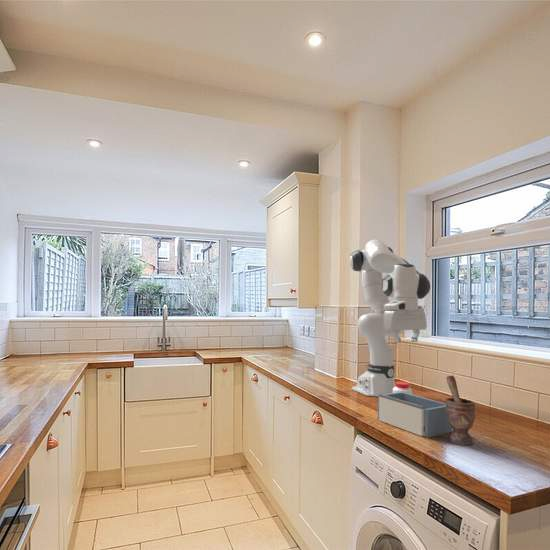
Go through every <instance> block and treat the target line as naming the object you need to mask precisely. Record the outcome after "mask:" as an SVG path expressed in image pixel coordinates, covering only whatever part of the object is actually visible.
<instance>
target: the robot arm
mask: <svg viewBox="0 0 550 550" xmlns="http://www.w3.org/2000/svg"><path fill="white" fill-rule="evenodd" d="M348 260H349V261H348V262H349V265H350V268H351V269H352V270H353V271H354V272H361V285H362V292H363V296H364V302H365V304H366V305H367V306H368V307H369V308H370V309H372V310H373V311H374V312H375V313H373V312H372V313H371V312H370V313H365V314H363V315H360V316H359V318H358V320H357V328H358V331H359V332H360V334H362V335H363V336H364V337H365V339H366V341H367V343H368V347H369V363H368V364H366V365H365V368H367V369H366V371H365V372H364V373H362V374H361V375H359V376H358V377H357V381H356V385H354V386H352V387H351V390H352V391H355V392H357V393H360V394H362V395H365V396H366V397H367V396H369V397H378V395H379V394H390V393H393V388H394V387H395V383H396V382H395V376H394V375H395V365H394V348H393V347H392V346H391V345H390V344H389V343H387V341H386V336H387V337H388V336H389V337H391V336H393V339H394V343H396V344H399V343H402V342H401V340H402V338H401V337H400V334H403V333H404V332H405V331H412V333H413V335H412V336H411V337H410V338H411V339H410V341H411V342H412V343H417V342H418V338H419V336H420V333H421V330H422V331H423V330H426V329H427V327H428V326H427V316H426V313H425V309H424V308H423V307H422V305H419V300H422V299H424V298H425V297H426V296H427V295H429V293H430V291H431V283H430V280H429V278H428V277H427V276H426V275H425V274H423V273H421V272H419V271H418V270H417V268H416V266H415V265H414V264H411V263H409V262H408V261H407V260H405V259H404V258H402V257H401V256H399V255H397V254H395V253H394V251H393V248H391V247H390V246H387V245H386V244H385V242H383V241H381V240H380V239H376V238H375V239H371V240H369V241H368V242H366V244H365V246H364V249H357V250H355V251H354V250H353V251H352V252H351V254H350V255H349V259H348ZM384 273H385V274H387V275H386V276H384V277H383V274H384ZM389 298H393V300H392V301H390V299H389Z"/></svg>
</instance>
